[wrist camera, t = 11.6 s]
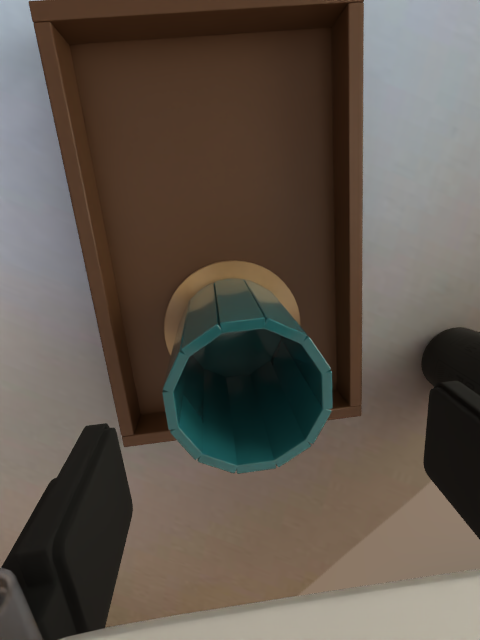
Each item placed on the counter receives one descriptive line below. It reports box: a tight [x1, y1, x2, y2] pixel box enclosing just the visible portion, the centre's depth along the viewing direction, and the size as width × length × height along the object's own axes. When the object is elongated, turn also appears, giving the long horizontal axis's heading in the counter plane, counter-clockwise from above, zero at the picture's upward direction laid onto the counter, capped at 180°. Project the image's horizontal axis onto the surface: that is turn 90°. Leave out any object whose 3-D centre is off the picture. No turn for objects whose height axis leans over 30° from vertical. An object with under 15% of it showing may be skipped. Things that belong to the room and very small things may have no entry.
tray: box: [29, 0, 364, 447], centre depth 22 cm, size 24×16×3 cm, turn 5°
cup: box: [162, 278, 333, 474], centre depth 19 cm, size 7×7×10 cm
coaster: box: [164, 260, 300, 355], centre depth 24 cm, size 9×9×1 cm
